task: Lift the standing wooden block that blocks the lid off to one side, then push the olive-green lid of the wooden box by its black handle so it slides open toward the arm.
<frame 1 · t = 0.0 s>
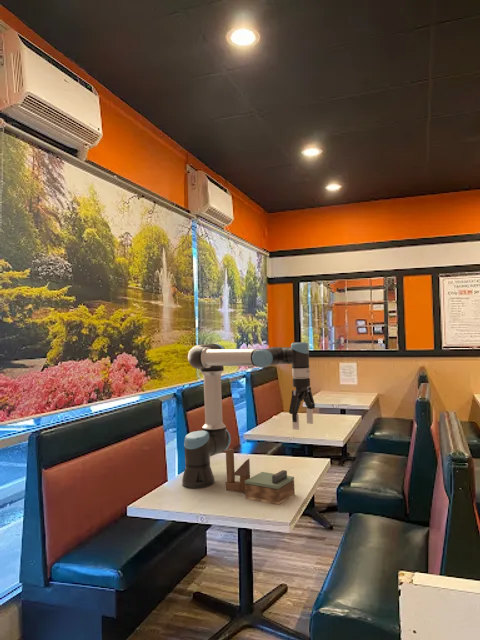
hand: (303, 426, 216), 28 cm above the table, tool pointing down, fingers open, 13 cm apart
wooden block: (238, 491, 219), on the table
lid: (269, 476, 210), point 8 cm above the table, slide at 0.0 cm
wooden box: (270, 496, 210), on the table
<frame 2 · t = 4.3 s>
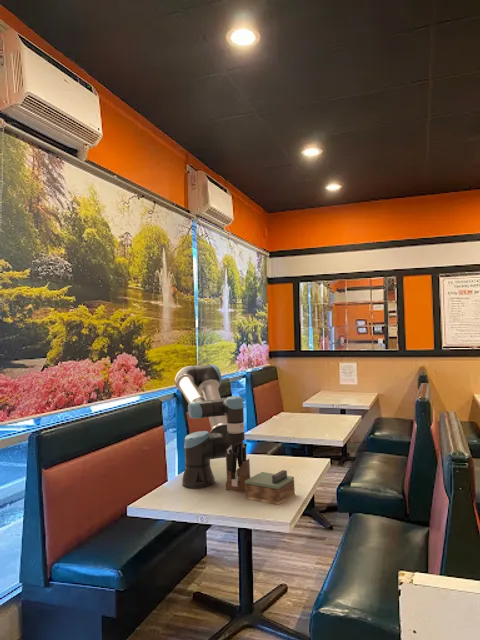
hand: (237, 484, 219), 3 cm above the table, tool pointing down, fingers closed on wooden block, 4 cm apart
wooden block: (238, 491, 219), on the table, touching gripper
everything else where it was.
when the fingers open (4 cm above the table, at t = 11.6 s): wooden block drops 1 cm, on the table.
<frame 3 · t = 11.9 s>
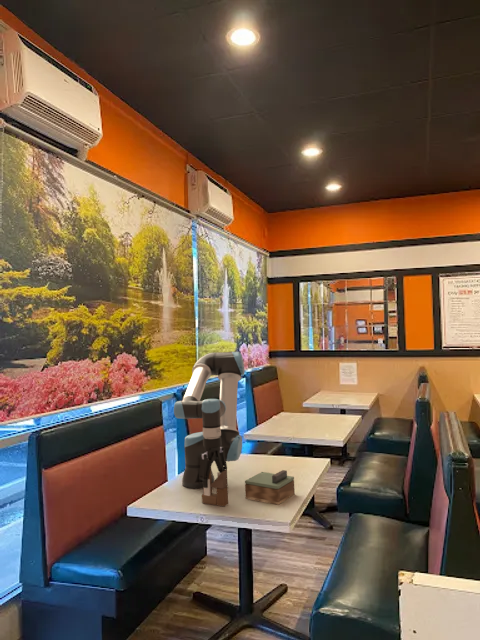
hand: (214, 491, 204), 5 cm above the table, tool pointing down, fingers open, 9 cm apart
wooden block: (215, 504, 204), on the table
everything else where it was.
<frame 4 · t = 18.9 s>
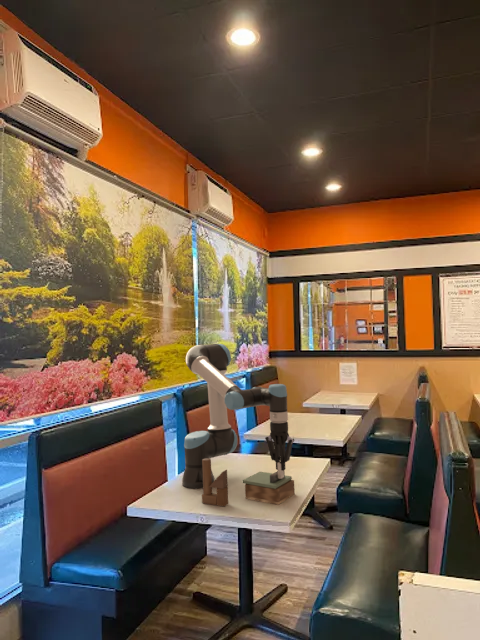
hand: (281, 477, 207), 9 cm above the table, tool pointing down, fingers closed
lid: (267, 476, 211), point 8 cm above the table, slide at 1.1 cm, touching gripper
everything else where it was.
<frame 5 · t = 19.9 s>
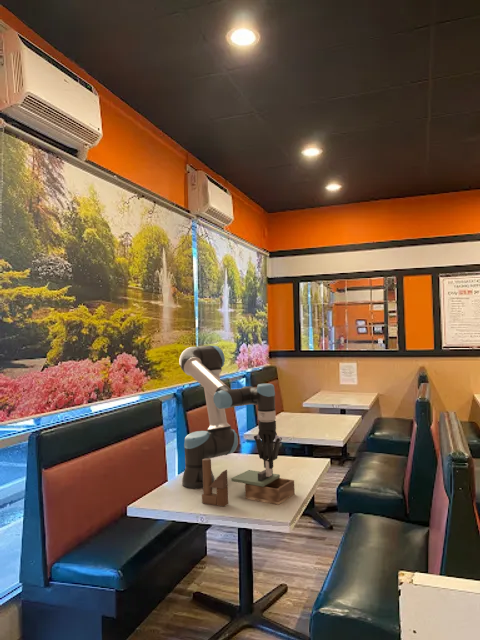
hand: (269, 475, 210), 9 cm above the table, tool pointing down, fingers closed
lid: (255, 474, 214), point 8 cm above the table, slide at 7.0 cm, touching gripper
everything else where it was.
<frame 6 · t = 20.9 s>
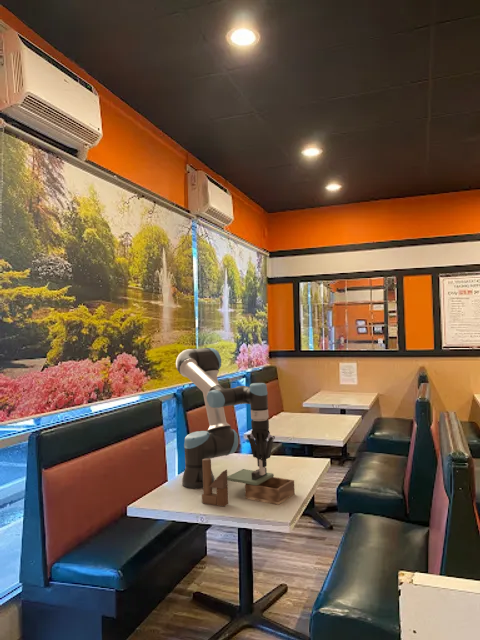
hand: (262, 474, 212), 9 cm above the table, tool pointing down, fingers closed
lid: (249, 473, 216), point 8 cm above the table, slide at 10.1 cm, touching gripper
everything else where it was.
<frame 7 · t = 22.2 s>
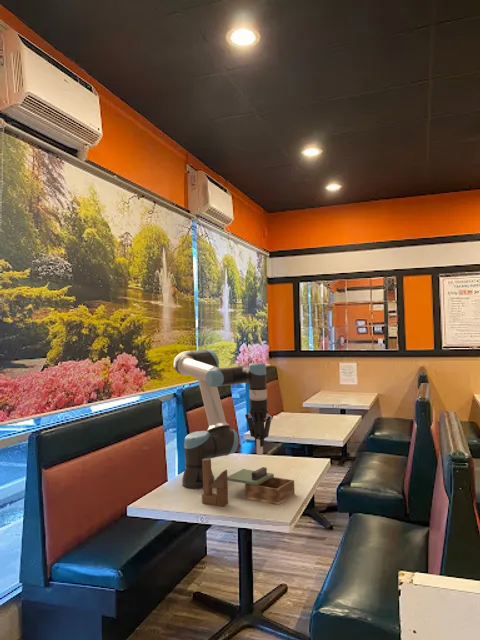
hand: (259, 453, 213), 18 cm above the table, tool pointing down, fingers closed
lid: (249, 473, 216), point 8 cm above the table, slide at 10.0 cm
everything else where it was.
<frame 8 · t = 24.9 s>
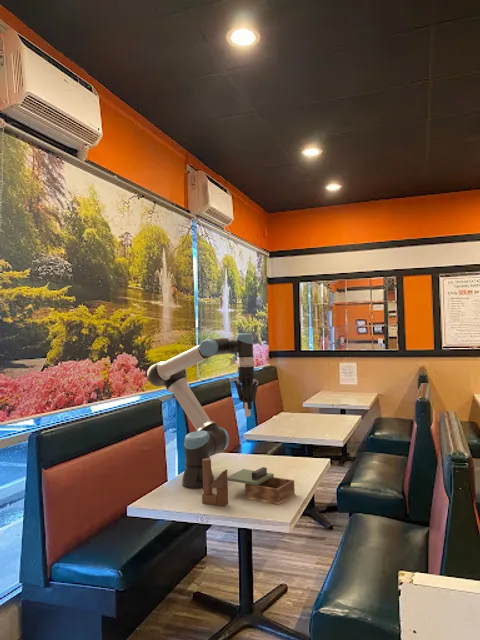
hand: (247, 416, 233), 30 cm above the table, tool pointing down, fingers closed
nothing on the table moved.
at the end: lid slide at 10.0 cm; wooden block inside the target area (0.1 cm from its centre), on the table; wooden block tilted 0° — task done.
